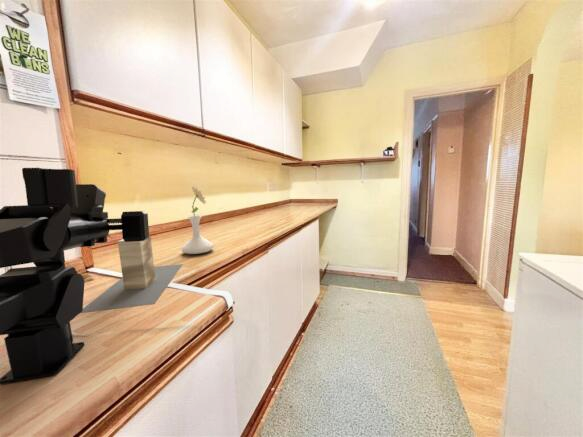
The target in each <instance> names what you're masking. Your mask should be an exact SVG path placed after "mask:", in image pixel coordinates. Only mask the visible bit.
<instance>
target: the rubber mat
mask: <svg viewBox="0 0 583 437" xmlns="http://www.w3.org/2000/svg"><path fill="white" fill-rule="evenodd" d="M182 267H183V263H180V264H169V265H159V266H154V270H155V278H156V280H155V281H154V282H153V283H152V284H150V285H149V286H148V287H147V288H140V289H124V283H123V276H122V277H121V278H119V280H118V281H116V282H115V283H114V284H112V285H111V286H110V287H109V288H107V289H106V290H105V291H104V292H102V293H101V294H99V295H98V296H97V297H96V298H94V299H93V300H92V301H90V302H89V303H88V304H87V305H86V306H85V307H84V306H83V311H82V312H81V313H80V314H82V313H90V312H99V311H107V310H116V309H122V308H123V309H124V308H133V307H141V306H148V305H156V303H157V301H158V300H159V299H160V297H161V296H162V294H164V292H165V290H166V289H167V287H168V286H169V285H170V284H171V282H172V281H173V279H174V278H175V276H176V275H177V274H178V272H179V271H180V269H181V268H182Z"/></svg>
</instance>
